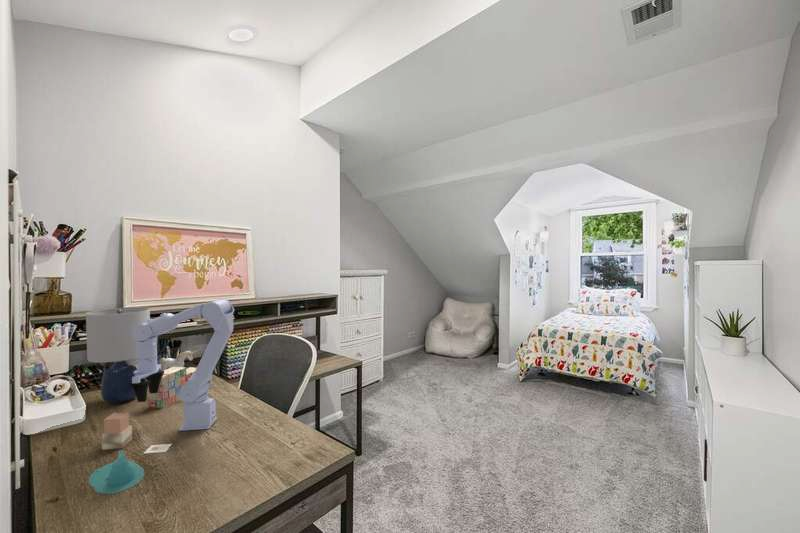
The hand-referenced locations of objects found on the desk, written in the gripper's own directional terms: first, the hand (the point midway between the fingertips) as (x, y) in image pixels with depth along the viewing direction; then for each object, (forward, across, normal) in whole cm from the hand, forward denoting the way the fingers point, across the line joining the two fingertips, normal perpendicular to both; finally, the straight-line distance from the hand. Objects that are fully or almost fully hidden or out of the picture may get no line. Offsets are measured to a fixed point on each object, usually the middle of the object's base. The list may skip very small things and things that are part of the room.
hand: (148, 397), depth 126 cm
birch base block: (+10, +12, -3) cm, 16 cm away
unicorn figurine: (+10, -53, -12) cm, 55 cm away
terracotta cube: (+6, +12, -3) cm, 14 cm away
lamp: (+10, -26, -23) cm, 36 cm away
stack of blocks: (+10, -26, -2) cm, 28 cm away
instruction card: (+10, +17, +11) cm, 23 cm away
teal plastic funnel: (+10, +30, +7) cm, 32 cm away
